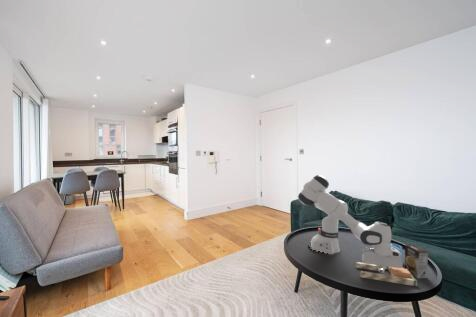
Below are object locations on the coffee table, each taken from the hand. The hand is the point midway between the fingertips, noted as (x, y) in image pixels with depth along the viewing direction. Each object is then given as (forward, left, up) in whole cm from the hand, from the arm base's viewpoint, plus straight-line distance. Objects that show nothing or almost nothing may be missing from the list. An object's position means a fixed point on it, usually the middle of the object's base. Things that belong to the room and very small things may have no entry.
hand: (381, 272), depth 125 cm
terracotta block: (+10, 0, -2) cm, 10 cm away
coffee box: (+20, +8, -2) cm, 22 cm away
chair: (+14, +20, -2) cm, 24 cm away
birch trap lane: (+2, +1, -2) cm, 3 cm away
